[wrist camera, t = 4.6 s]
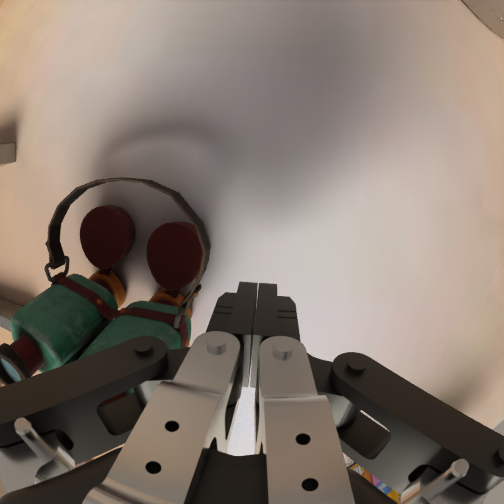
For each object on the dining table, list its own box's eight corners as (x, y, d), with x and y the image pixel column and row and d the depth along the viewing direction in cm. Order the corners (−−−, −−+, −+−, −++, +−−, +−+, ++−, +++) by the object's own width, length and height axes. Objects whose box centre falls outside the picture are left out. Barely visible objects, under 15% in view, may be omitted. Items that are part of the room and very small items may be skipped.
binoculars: (159, 209, 4) (149, 483, 7) (231, 192, 14) (199, 346, 17) (-47, 169, 4) (-10, 389, 7) (96, 167, 14) (85, 307, 17)
